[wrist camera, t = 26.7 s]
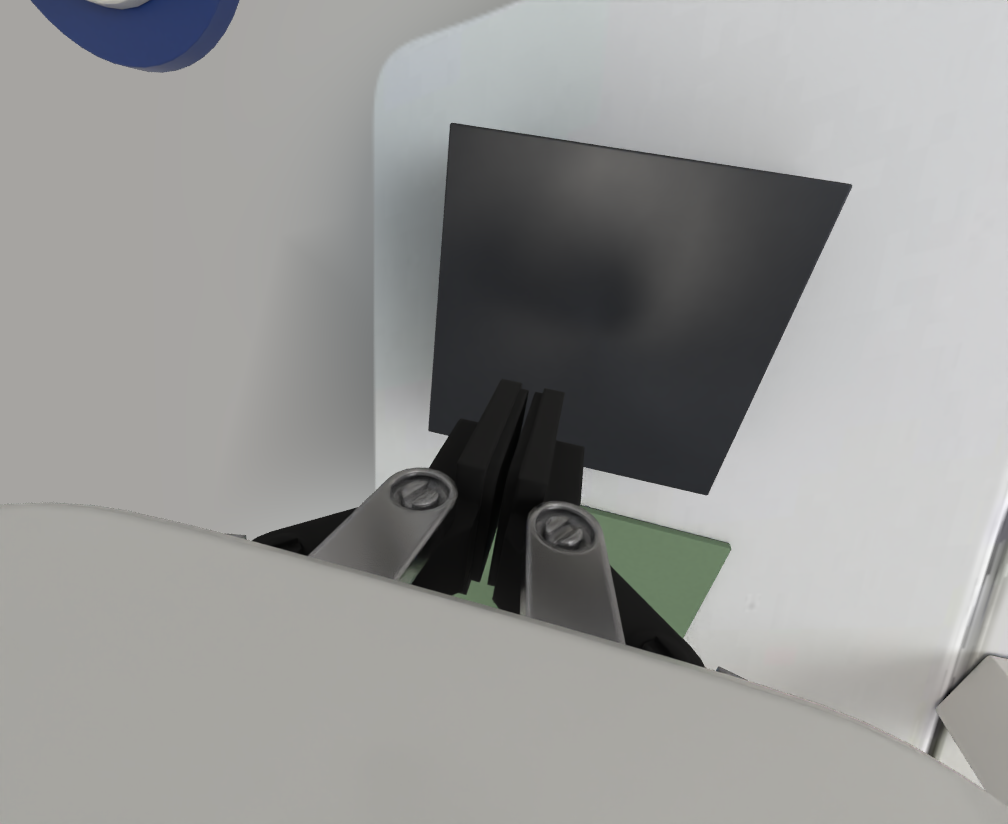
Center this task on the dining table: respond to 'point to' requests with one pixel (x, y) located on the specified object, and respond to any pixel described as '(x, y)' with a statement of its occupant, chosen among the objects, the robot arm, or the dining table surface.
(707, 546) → the mat
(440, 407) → the black box top
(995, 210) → the dining table surface
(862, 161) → the dining table surface
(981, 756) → the milk carton
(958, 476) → the dining table surface
